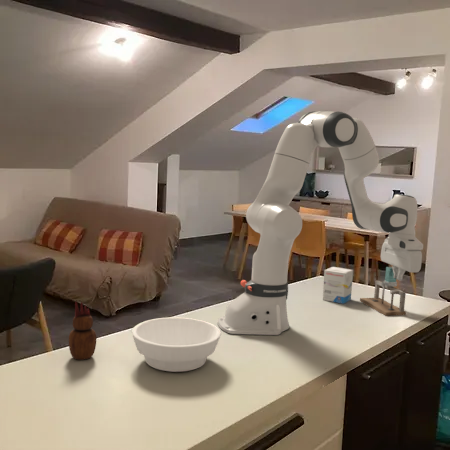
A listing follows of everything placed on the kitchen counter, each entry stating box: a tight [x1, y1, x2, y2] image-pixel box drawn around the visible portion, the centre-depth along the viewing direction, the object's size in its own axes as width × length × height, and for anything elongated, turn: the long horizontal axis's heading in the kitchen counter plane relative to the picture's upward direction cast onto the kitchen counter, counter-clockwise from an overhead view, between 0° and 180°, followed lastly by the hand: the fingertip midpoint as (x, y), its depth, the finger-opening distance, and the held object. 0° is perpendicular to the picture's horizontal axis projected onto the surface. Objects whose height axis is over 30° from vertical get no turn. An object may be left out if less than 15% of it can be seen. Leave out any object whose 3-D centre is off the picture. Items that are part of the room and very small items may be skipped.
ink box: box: [322, 266, 354, 305], centre depth 204 cm, size 9×8×12 cm
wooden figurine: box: [68, 301, 97, 361], centre depth 137 cm, size 7×6×15 cm
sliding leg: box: [381, 266, 398, 304], centre depth 195 cm, size 5×3×13 cm, turn 105°
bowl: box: [131, 316, 222, 373], centre depth 137 cm, size 22×22×8 cm
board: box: [359, 279, 407, 317], centre depth 196 cm, size 8×18×8 cm, turn 15°
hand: (397, 279), depth 191 cm, fingers closed
